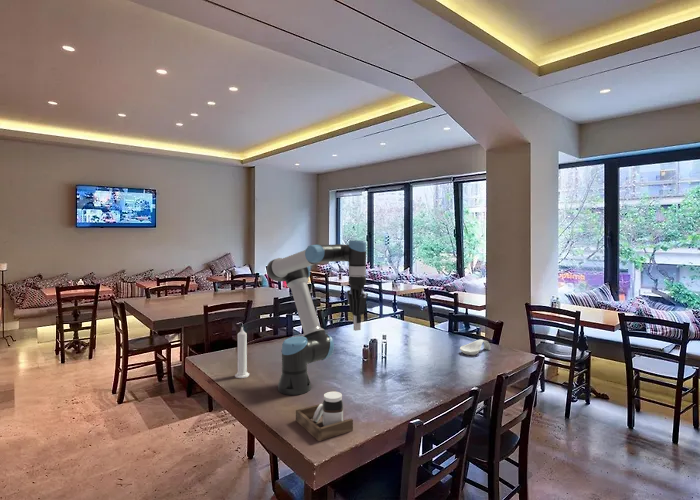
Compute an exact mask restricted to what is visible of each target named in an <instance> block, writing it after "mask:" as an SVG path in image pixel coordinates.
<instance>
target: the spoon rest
mask: <svg viewBox="0 0 700 500" xmlns="http://www.w3.org/2000/svg"><path fill="white" fill-rule="evenodd" d="M490 344H491V343H489V341H488V340H484V339H477V340H474V341H472V342H470V343H467V344H465V345H464V344H463V345H462V346H460V347H459V350H460V351H461V352H462V353H463V354H464V355H466V356H475V355H478V354H479V353H480V351H481V349H482V345H483V349H485V350H487V351H491V345H490Z"/></svg>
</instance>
